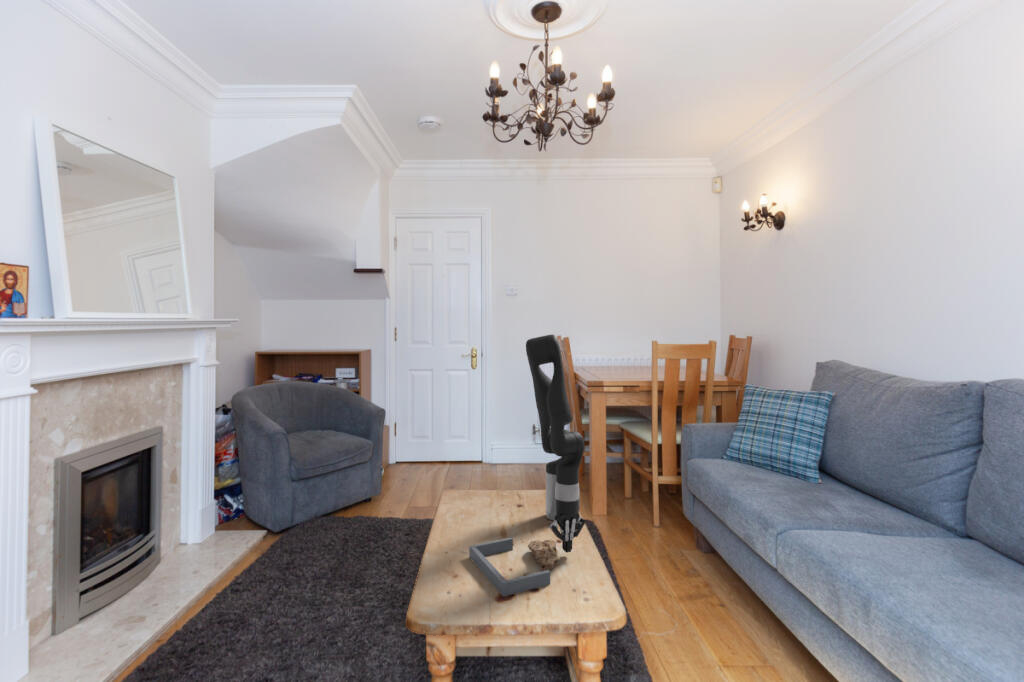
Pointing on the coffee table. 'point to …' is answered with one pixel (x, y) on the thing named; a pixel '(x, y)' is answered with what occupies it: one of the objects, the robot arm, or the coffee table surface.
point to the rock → (544, 553)
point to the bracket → (496, 578)
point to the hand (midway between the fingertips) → (567, 551)
